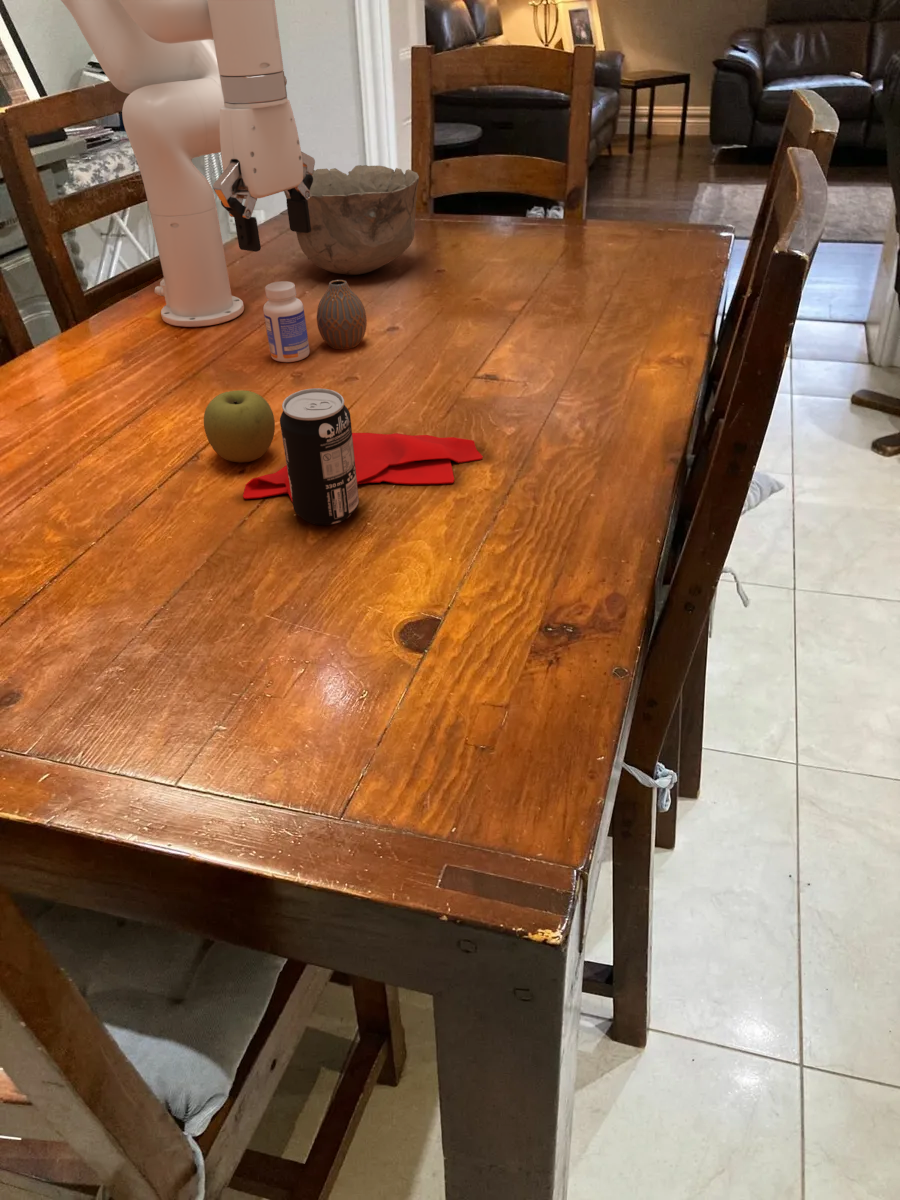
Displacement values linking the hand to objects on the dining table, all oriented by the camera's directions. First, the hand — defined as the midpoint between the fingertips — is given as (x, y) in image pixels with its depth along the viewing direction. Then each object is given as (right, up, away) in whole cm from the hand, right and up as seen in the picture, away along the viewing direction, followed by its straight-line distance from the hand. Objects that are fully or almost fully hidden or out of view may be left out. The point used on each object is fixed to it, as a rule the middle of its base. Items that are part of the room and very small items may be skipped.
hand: (276, 240), depth 120 cm
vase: (+7, -10, +12) cm, 18 cm away
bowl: (+7, +10, +41) cm, 43 cm away
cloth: (+13, -32, -18) cm, 39 cm away
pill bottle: (0, -13, +9) cm, 16 cm away
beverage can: (+10, -37, -26) cm, 47 cm away
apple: (-1, -31, -15) cm, 34 cm away
